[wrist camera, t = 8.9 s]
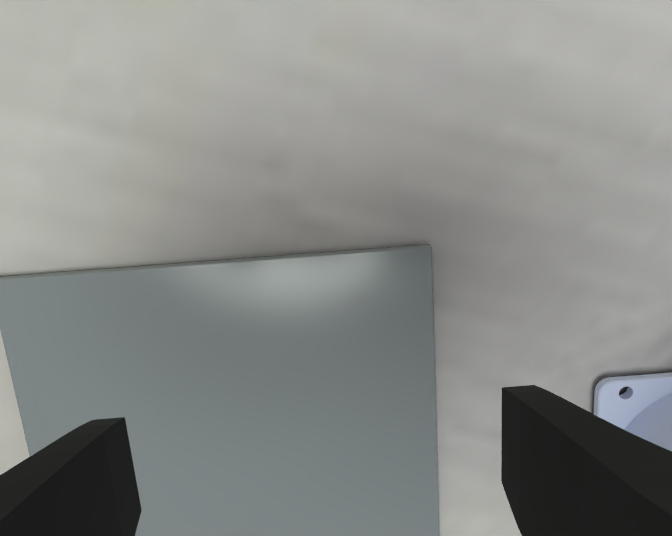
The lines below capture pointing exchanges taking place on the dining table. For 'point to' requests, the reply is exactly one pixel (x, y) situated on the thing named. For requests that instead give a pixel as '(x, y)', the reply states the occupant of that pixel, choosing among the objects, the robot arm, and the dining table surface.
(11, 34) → the dining table surface
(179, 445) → the slate board
